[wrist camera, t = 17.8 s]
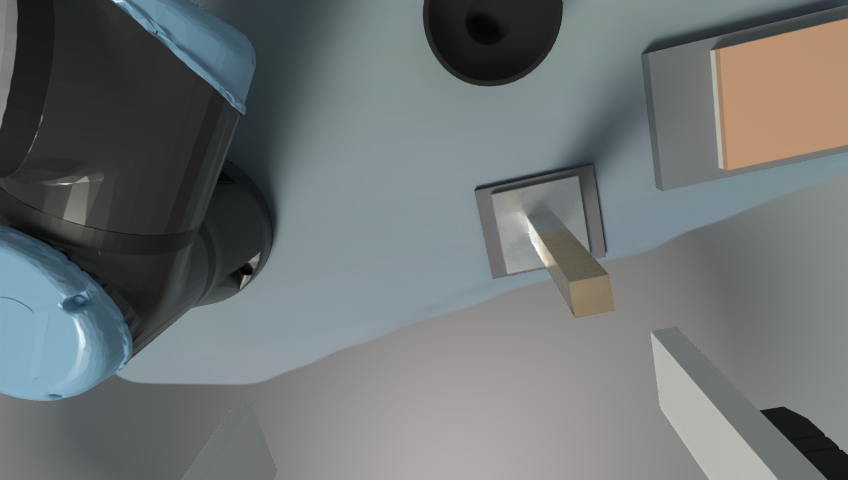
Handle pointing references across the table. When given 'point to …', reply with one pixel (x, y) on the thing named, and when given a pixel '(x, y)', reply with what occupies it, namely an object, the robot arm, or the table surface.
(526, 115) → the table surface
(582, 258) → the wooden post on base
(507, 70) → the pen holder
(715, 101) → the tile
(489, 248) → the mat
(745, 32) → the slate board
